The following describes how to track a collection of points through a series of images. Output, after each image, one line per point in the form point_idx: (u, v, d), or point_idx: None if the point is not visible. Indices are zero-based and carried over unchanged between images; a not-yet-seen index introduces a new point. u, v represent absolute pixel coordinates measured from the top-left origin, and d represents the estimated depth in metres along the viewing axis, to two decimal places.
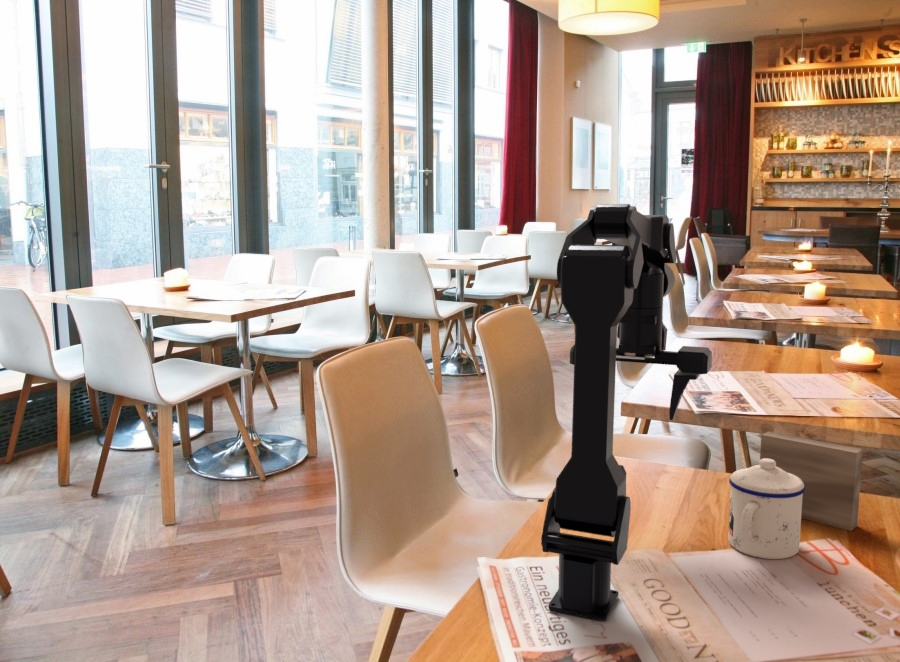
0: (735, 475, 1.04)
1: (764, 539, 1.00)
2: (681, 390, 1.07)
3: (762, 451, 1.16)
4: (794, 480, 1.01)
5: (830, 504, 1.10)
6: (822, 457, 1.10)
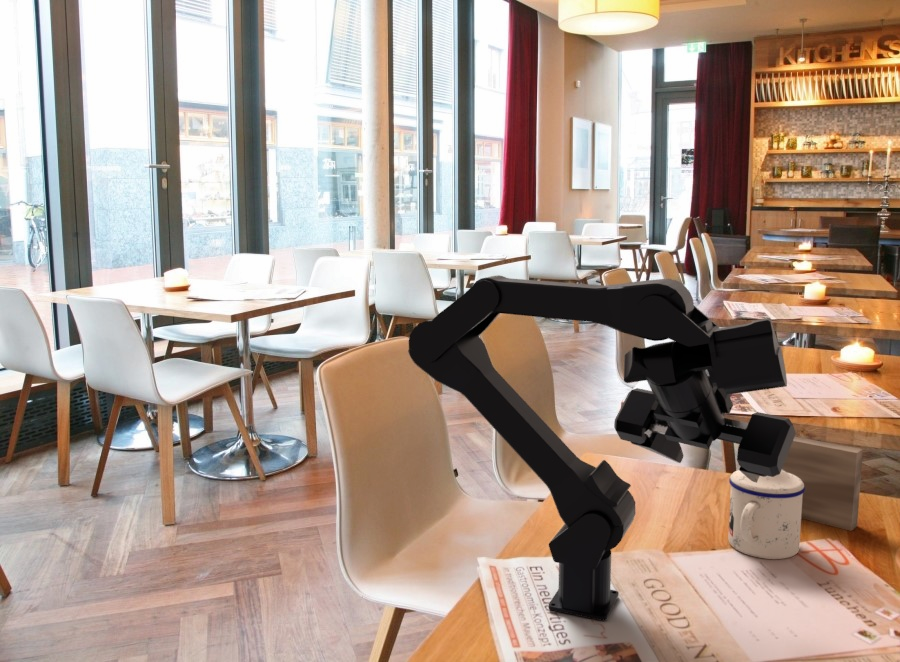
0: (735, 475, 1.04)
1: (764, 539, 1.00)
2: (754, 476, 0.85)
3: None
4: (794, 480, 1.01)
5: (830, 504, 1.10)
6: (822, 457, 1.10)
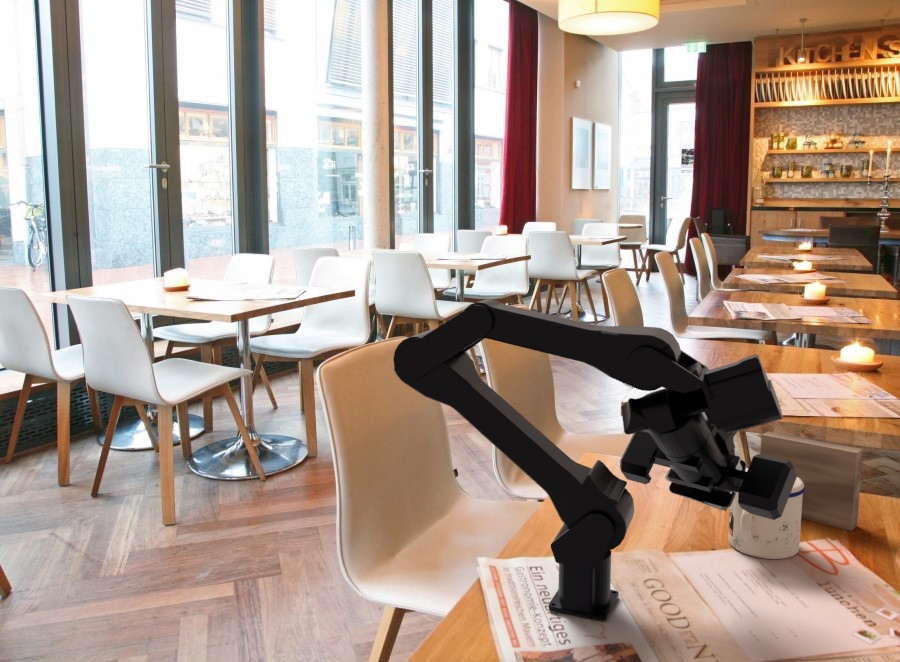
0: None
1: (764, 539, 1.00)
2: (719, 507, 0.89)
3: (762, 451, 1.16)
4: None
5: (830, 504, 1.10)
6: (822, 457, 1.10)
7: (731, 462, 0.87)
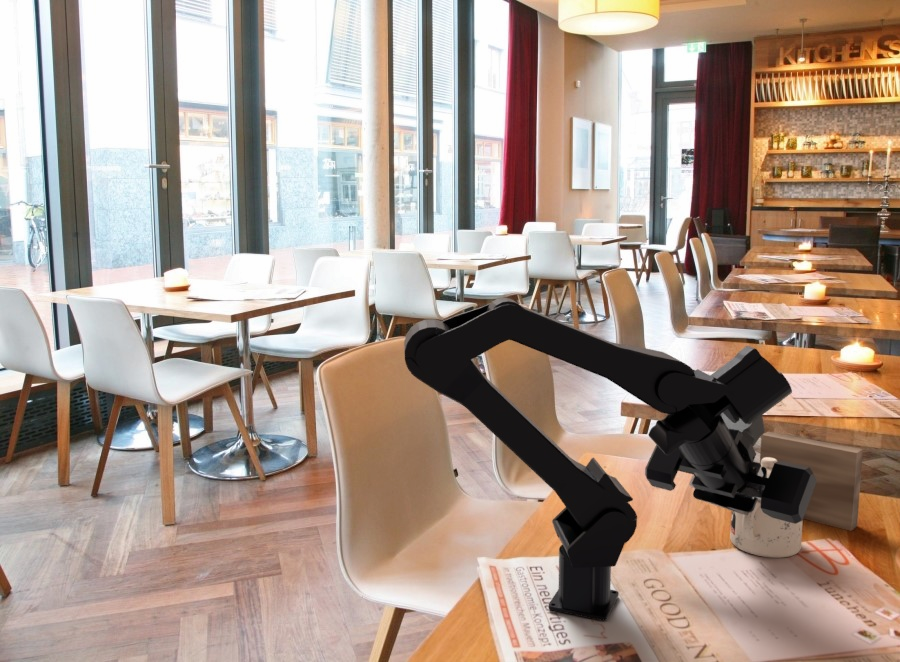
0: None
1: (766, 538, 1.00)
2: (742, 512, 0.93)
3: (762, 451, 1.16)
4: None
5: (830, 504, 1.10)
6: (822, 457, 1.10)
7: (753, 469, 0.91)
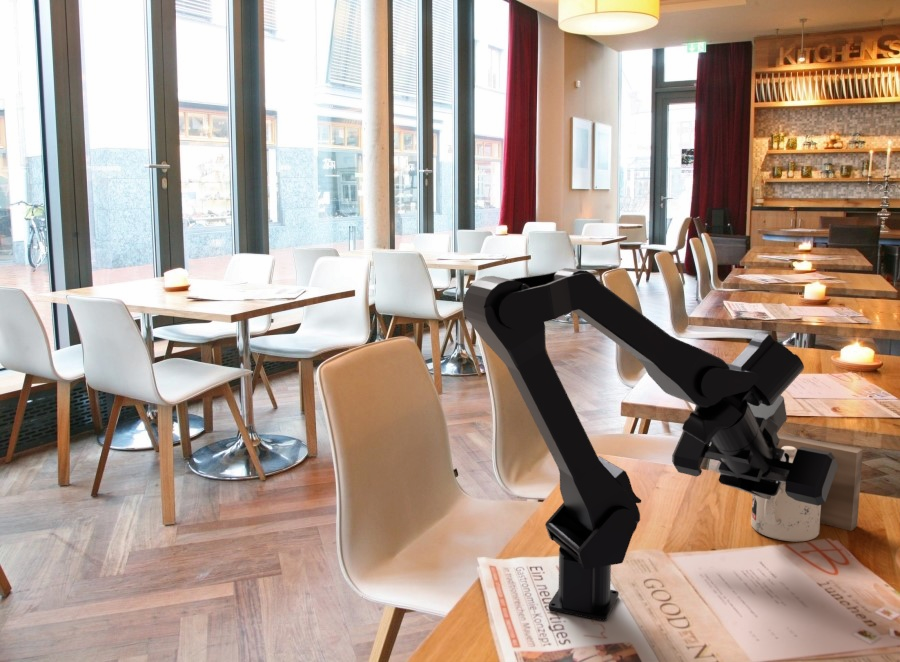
0: None
1: (787, 523, 1.05)
2: (765, 495, 0.98)
3: None
4: None
5: (830, 504, 1.10)
6: None
7: (776, 454, 0.96)
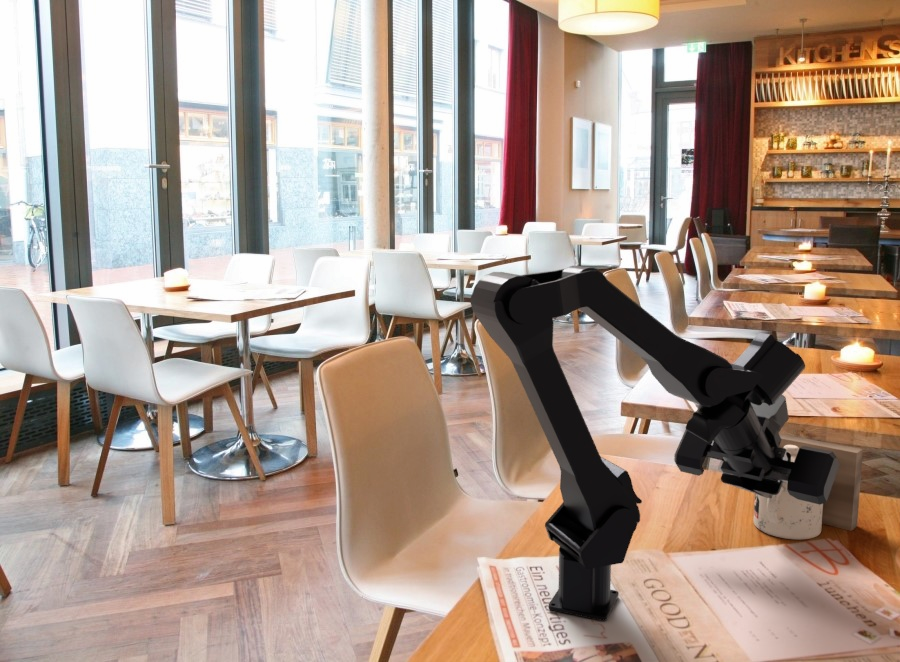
0: None
1: (789, 521, 1.06)
2: (767, 494, 0.99)
3: None
4: None
5: (830, 504, 1.10)
6: None
7: (778, 454, 0.97)
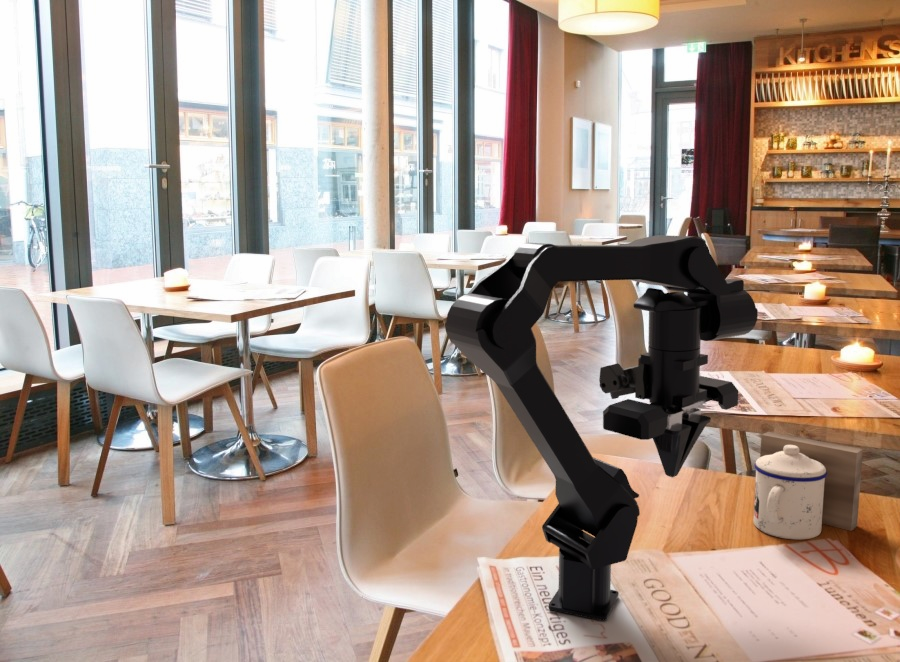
0: (761, 460, 1.09)
1: (789, 521, 1.06)
2: (697, 438, 0.92)
3: (762, 451, 1.16)
4: (817, 465, 1.07)
5: (830, 504, 1.10)
6: (822, 457, 1.10)
7: None
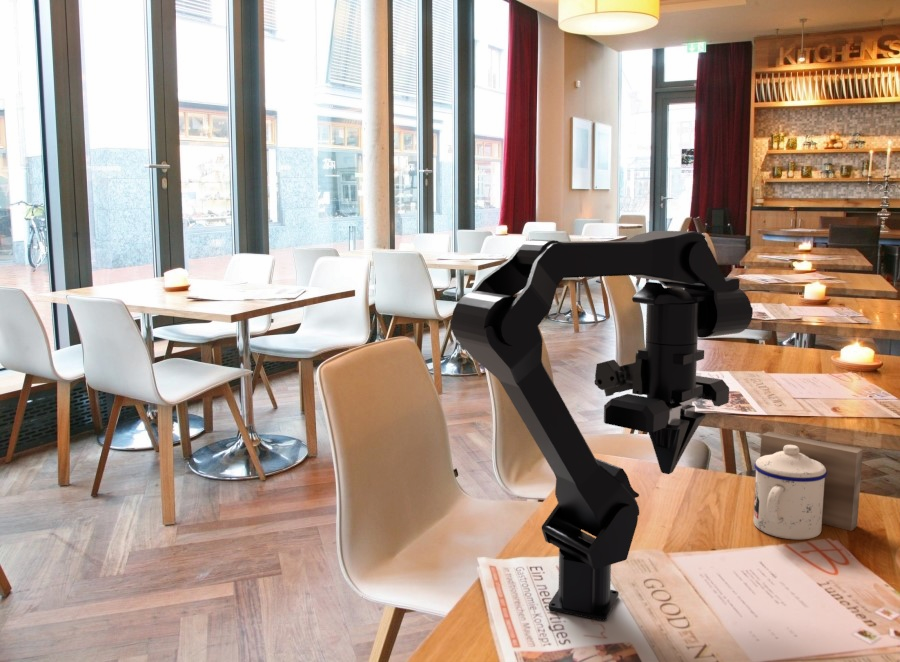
0: (760, 460, 1.09)
1: (789, 521, 1.06)
2: (693, 434, 0.92)
3: (762, 451, 1.16)
4: (817, 465, 1.07)
5: (830, 504, 1.10)
6: (822, 457, 1.10)
7: None
